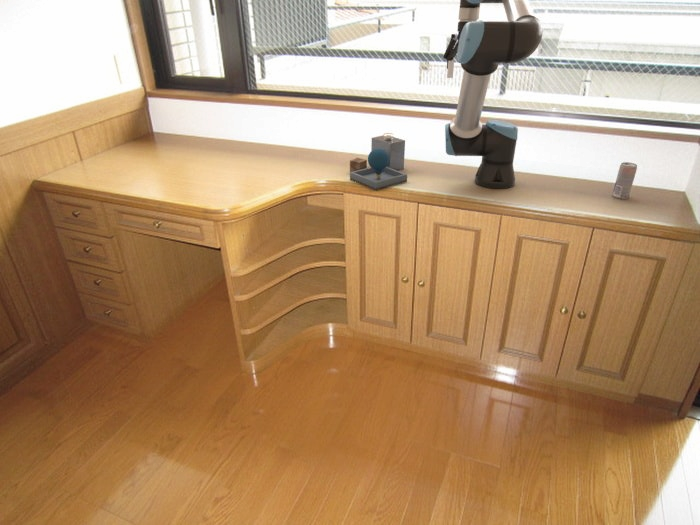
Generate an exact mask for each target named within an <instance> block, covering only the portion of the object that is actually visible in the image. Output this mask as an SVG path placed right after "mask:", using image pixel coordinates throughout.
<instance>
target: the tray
mask: <svg viewBox="0 0 700 525" xmlns="http://www.w3.org/2000/svg"><path fill="white" fill-rule="evenodd" d="M349 180H350V181H352V180H353V181H352V182H355V181H356V182H355V183H357V182H358V184H360V185H362V186H364V187H366V188H369V189H372V190H374V191H379V190H382V189H386V188H389V187H392V186H393V187H394V186H397V185H400V184H404V183H407V182H408V174H407V173H405V172H401V171H399V170H394V169H391V168H388V167H386V168H384V169H383V170H382V173H381V178H380V179H378V178H376V173H375V170H374V169H373V168H371V167H370V166H369V167H367V168H366V169H361V170H357V171H353V172H350V171H349Z"/></svg>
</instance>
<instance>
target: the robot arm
mask: <svg viewBox="0 0 700 525" xmlns="http://www.w3.org/2000/svg"><path fill="white" fill-rule="evenodd" d="M459 1H460V2H459V9H458V20H459V21H458V22H457V32H458V33H452V34H451V35H450V36H451V37H450V40H449V43H448V45H447V48H446V50H445V51H444V54H443V59H445V60H446V69H447V70H446V71H447V74H446V78H447V79H452V78H454V68H455V67H454V66H455V60H454V59H455V57H456V59H457V62H458V63H459V64H460V67H461V69H462V70H463V73H462V74H463V76H462V81H461V86H460V91H459V96H458V102H457V107H456V112H455V116H454V117H453V118H452V119H451V120H450V122H448V123H446V124H445V126H444V128H445V129H444V130H445V131H444V133H445V134H444V136H445V153H446V154H447V156H455V157H481V162H480V165H479V166H478V168H477V171H476V173H475V174H474V183H475V184H476V185H478V186H481V187H484V188H488V189H496V190H497V189H498V190H499V189H500V190H502V189H508V188H513V186H515V182H516V177H515V170H514V158H515V155H516V154H515V153H516V146H517V140H518V132H519V129H518V126H517V125H515V124H514V123H511V122H509V121H505V120H501V119H500V120H499V119H487V121H486V122H485V124H484V123H482V121H481V116H482V111H483V107H484V103H485V101H486V100H485V99H486V96H487V92H488V88H489V83H490V79H491V76H492V74H494V73H495V72H496V71H497V70H498V67H499V64H515V63H519V62H522V61H524V60H526V59H527V58H529V57H531V56H532V55H533V53H534V52H535V51H536V50H537V49H538V48H539V46H540V44H541V42H542V40H543V27H542V23H541V21H540V19H539V18H538V17H537V16H535V15H534V14H533V10H532V8H531V5H530V2H529V0H459ZM481 4H502V5H503V8H504V10H505V14H506V19H507V20H496V21H495V20H490V21H489V20H487V21H486V20H485V21H484V20H481V19H480V10H481V9H480V7H481Z"/></svg>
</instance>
